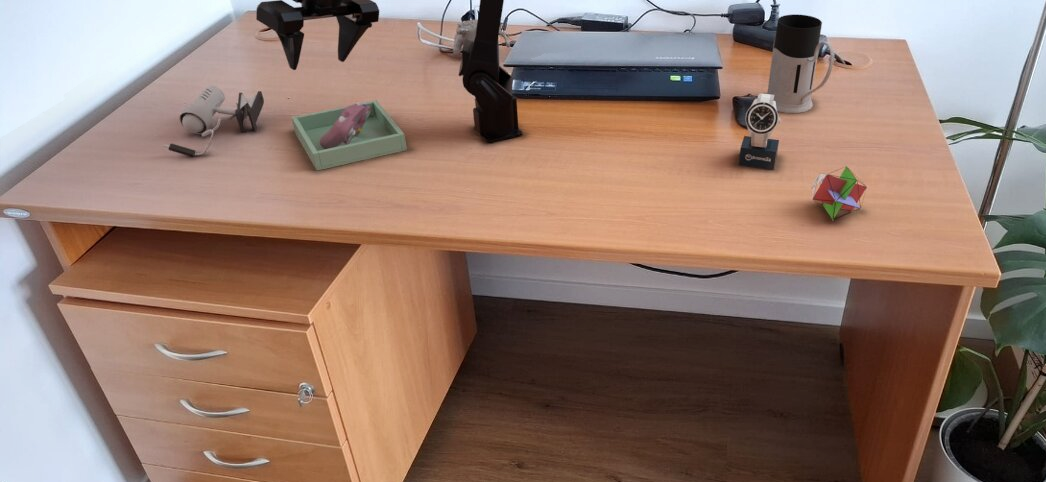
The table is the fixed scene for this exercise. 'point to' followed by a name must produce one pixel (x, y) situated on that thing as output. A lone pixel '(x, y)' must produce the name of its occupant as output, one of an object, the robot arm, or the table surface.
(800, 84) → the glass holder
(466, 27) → the elephant statuette
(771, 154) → the watch
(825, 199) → the geometric puzzle
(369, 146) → the tray
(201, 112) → the clip-on lamp
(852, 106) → the table surface
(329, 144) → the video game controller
